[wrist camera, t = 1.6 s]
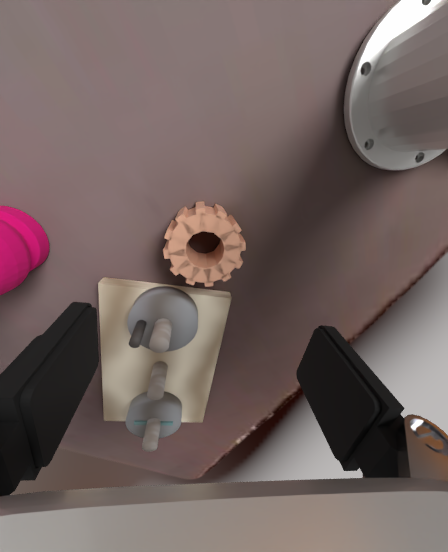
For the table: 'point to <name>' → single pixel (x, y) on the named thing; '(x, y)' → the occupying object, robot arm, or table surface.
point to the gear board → (158, 353)
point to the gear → (202, 264)
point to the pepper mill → (19, 247)
